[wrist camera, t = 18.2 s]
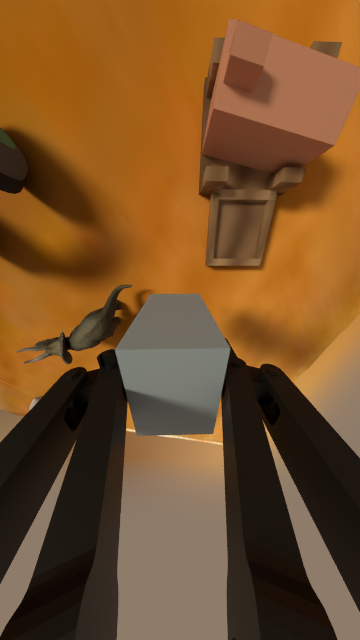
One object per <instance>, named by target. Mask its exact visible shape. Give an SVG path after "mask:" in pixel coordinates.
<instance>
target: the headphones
mask: <svg viewBox="0 0 360 640" xmlns="http://www.w3.org/2000/svg"><path fill="white" fill-rule="evenodd" d="M27 173H28V165H27V161H26V159H25V157H24V156H23V154H22V152H21V151H20V149H19V148H18V147H17V145H16V144H15V143H14V142H13V141H12V139H11V138H10V137H9V136H8V135H7V134H6V133H5V132H4V131H3V130H2V129H1V128H0V190H2V191H5V192H8V193H13V194H16V193H19V192H21V191H22V189H23V187H24V185H25V177H26V175H27Z"/></svg>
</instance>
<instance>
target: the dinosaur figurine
mask: <svg viewBox="0 0 360 640" xmlns="http://www.w3.org/2000/svg"><path fill="white" fill-rule="evenodd" d="M129 287H132V285H121V286H118V287H117V288H115V289H114V290H113V291H112V293H111V294H110V296H109V298H108V300H107V302H106V304H105V306H104V307H103V308H101V309H98V310H96V311H93V312H91V313H89V314H88V315H87V316H86V317H85V318H84V319H83V320H82V322H81V323H80V325H78V326H77V327H76V328H75V329H74V330H73V331H72V333H71V334H70V337H65V335H64V333H63V332H62V333H61V335H60V337H56V338H52V339H47V340H43V341H40V342H38V343H36V344H35V346H34V347H31V348H24V349H21V350H19V351H17V353H18V352H21V351H26V350H28V351H41V350H46V352H45V353H44V354H42V355H41V356H39V357H37V358H35V359H33V360H30V361H26V362H23V363H30V362H35V361H39V360H42V359H44V358H46V357H48V356H51V355H58V356H60V357H62V359H63V361H64V362H65V363H66V364H68V365H69V364H71V363H72V356H71V354H70V353H69V352H68V351H67V350H70V349H71V350H75V351H81V350H84V349H88V348H92V347H95V346H97V345H98V344H100V342H101V341H102V340H104V339H106V338H107V337H110V336H112V335H113V333H114V331H115V328H116V325H117V324H118V323H119V324H120V323H121V322H120V320H119V319H118V317H114V315H115V311H116V310H120V309H121V305H120V303H119V301H118V300H117V297H118V294H119V293H120V291H121V290H122V289H124V288H129Z"/></svg>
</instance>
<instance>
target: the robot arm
mask: <svg viewBox="0 0 360 640" xmlns="http://www.w3.org/2000/svg"><path fill="white" fill-rule="evenodd" d="M225 339H226V338H225ZM226 341H227V343H228V345H229V346H230V344H229V342H228V340H227V339H226ZM97 360H98V363H99V366H100V368H99V369H96V370H92V371H88V372H87V371H86V369H85V368H84V367H77V368H73V369H71V370H69V371H67V372H66V373H64V374H63V375H62V376H61V377H60V378H59V379H58V381H57V382H56V383H55V384H54V385H53V386H52V387H51V388H50V389H49V390H48V391H47V392H46V394H45V395H44V396H43V397H42V398H41V399H40V400H39V401H38V402H37V403H36V404H35V405H34V407H33V408H32V409H31V410H30V411H29V412H28V413H27V414H26V415H25V416H24V417H23V419H22V420H21V421H20V422H19V423H18V424H17V425H16V426H15V427H14V428H13V429H12V430H11V431H10V433H9V434H8V435H7V436H6V437H5V438H4V439H3V440H2V441H1V442H0V583H1V581H2V580H3V578H4V576H5V574H6V572H7V570H8V568H9V566H10V564H11V563H12V560H13V559H14V557H15V555H16V553H17V551H18V549H19V547H20V546H21V544H22V542H23V540H24V538H25V536H26V534H27V532H28V530H29V528H30V526H31V525H32V523H33V521H34V519H35V517H36V515H37V513H38V511H39V510H40V508H41V506H42V504H43V502H44V500H45V498H46V496H47V494H48V492H49V491H50V489H51V487H52V485H53V483H54V481H55V479H56V477H57V475H58V473H59V471H60V470H61V468H62V466H63V464H64V462H65V460H66V458H67V456H68V455H69V453H70V451H71V449H72V447H73V445H74V443H75V441H76V444H75V447H74V450H73V453H72V456H71V459H70V462H69V465H68V468H67V471H66V474H65V477H64V481H63V484H62V487H61V490H60V493H59V496H58V499H57V502H56V505H55V508H54V511H53V514H52V517H51V521H50V524H49V527H48V530H47V533H46V536H45V539H44V542H43V545H42V548H41V551H40V554H39V558H38V561H37V564H36V567H35V570H34V573H33V576H32V579H31V582H30V584H29V587H28V590H27V592H26V594H25V596H24V598H23V600H22V602H21V604H20V605H19V607H18V608H17V610H16V611H15V613H14V614H13V616H12V617H11V619H10V620H9V622H8V623H7V625H6V626H5V629H4V630H3V632H2V635H1V636H0V640H116V638H117V619H118V580H117V560H118V543H119V528H120V513H121V497H122V481H123V466H124V449H125V435H126V419H127V403H128V399H127V395H126V391H125V387H124V383H123V380H122V376H121V372H120V368H119V364H118V360H117V356H116V353H115V349H110V350H106V351H104V352H102V353H101V354H99V355H98V357H97ZM221 402H222V427H223V451H224V475H225V500H226V523H227V524H226V525H227V547H228V548H227V550H228V576H227V624H228V640H337V637H336V634H335V632H334V629H333V627H332V625H331V622H330V620H329V618H328V616H327V613H326V611H325V609H324V607H323V605H322V603H321V602H320V600H319V598H318V597H317V595H316V593H315V592H314V590H313V588H312V587H311V584H310V582H309V580H308V577H307V575H306V571H305V568H304V566H303V562H302V558H301V555H300V551H299V548H298V544H297V541H296V537H295V534H294V530H293V526H292V523H291V520H290V516H289V512H288V509H287V505H286V502H285V498H284V495H283V491H282V487H281V484H280V480H279V477H278V474H277V470H276V467H275V463H274V459H273V456H272V452H271V449H270V445H269V441H268V438H267V435H266V431H265V427H264V424H263V422H264V423H265V426H266V427H267V430H268V432H269V433H270V435H271V437H272V439H273V441H274V443H275V445H276V447H277V449H278V451H279V453H280V455H281V457H282V459H283V461H284V463H285V465H286V467H287V469H288V471H289V473H290V475H291V477H292V479H293V481H294V483H295V485H296V487H297V489H298V491H299V493H300V495H301V497H302V499H303V500H304V503H305V505H306V507H307V508H308V511H309V513H310V515H311V516H312V519H313V521H314V522H315V524H316V526H317V528H318V530H319V532H320V534H321V536H322V538H323V540H324V542H325V544H326V546H327V548H328V550H329V552H330V554H331V556H332V558H333V560H334V562H335V564H336V566H337V568H338V570H339V572H340V574H341V576H342V578H343V580H344V582H345V584H346V586H347V588H348V590H349V592H350V594H351V596H352V598H353V600H354V602H355V604H356V606H357V608H358V609H359V611H360V458H359V457H358V456H357V455H356V453H355V452H354V451H353V450H352V449H351V448H350V447H349V446H348V444H347V443H346V442H345V441H344V440H343V439H342V438H341V437H340V436H339V434H338V433H337V432H336V431H335V430H334V429H333V428H332V427H331V425H330V424H329V423H328V422H327V421H326V420H325V418H324V417H323V416H322V415H321V414H320V413H319V412H318V411H317V410H316V408H314V406H313V405H312V404H311V403H310V402H309V400H308V399H307V398H306V397H305V396H304V395H303V394H302V393H301V392H300V390H299V389H298V388H297V387H296V386H295V385H294V383H293V382H292V381H291V380H290V379H289V378H288V377H287V376H286V374H285V373H284V372H283V371H282V370H281V369H279V368H278V367H276V366H274V365H271V364H263V365H261V367H260V368H255V367H251V366H248V365H246V363H245V362H244V361H243V360H242V359H240V358H238V357H237V356H236V354H235V352H234V351H233V349H232V347H231V346H230V353H229V358H228V363H227V368H226V373H225V378H224V383H223V388H222V393H221ZM76 439H77V440H76Z"/></svg>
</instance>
